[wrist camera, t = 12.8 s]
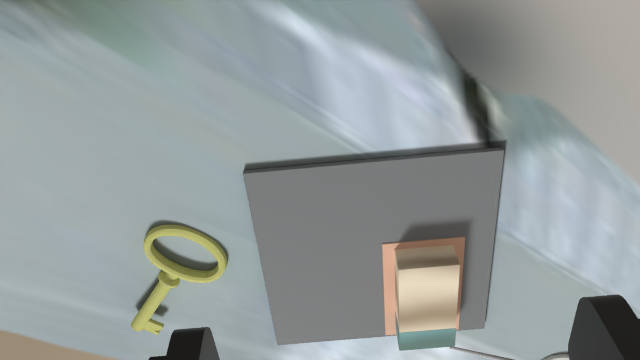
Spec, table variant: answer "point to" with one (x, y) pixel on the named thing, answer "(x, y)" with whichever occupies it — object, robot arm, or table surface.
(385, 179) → the mat
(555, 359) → the sign
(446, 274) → the tile
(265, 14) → the table surface
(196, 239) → the key
